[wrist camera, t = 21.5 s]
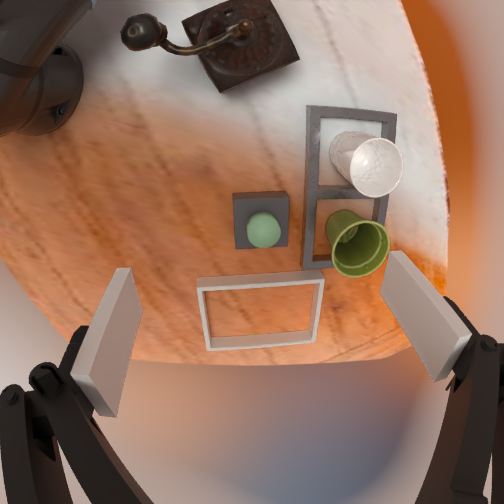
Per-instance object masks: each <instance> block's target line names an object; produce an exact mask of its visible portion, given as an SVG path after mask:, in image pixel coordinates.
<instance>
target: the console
mask: <svg viewBox="0 0 504 504" xmlns="http://www.w3.org/2000/svg"><path fill="white" fill-rule="evenodd" d="M233 211H234V232H235V247H236V249H251V248H259V247H256V246H254V245H253V244H252V243H251V242H250V241H249V239H248V234H247V228H246V225H247V221H248V219H249V218H250V217H251V216H252V215H253V214H255V213H257V212H262V211H264V212H269V213H271V214H272V215H274V216H275V218H276V219H277V222H278V224H279V227H280V230H281V235H280V238H279V240H278V241H277V242H276V243H275V244H274V245H273V246H271V247H285V246H288V220H289V196H288V195H287V193H286V191H268V192H245V193H233Z"/></svg>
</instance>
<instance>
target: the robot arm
mask: <svg viewBox="0 0 504 504" xmlns="http://www.w3.org/2000/svg"><path fill="white" fill-rule="evenodd" d="M97 1H98V0H0V137H2V136H5V135H7V134H10V133H13V132H15V133H19V134H23V135H27V136H38V135H43V134H46V133H49V132H51V131H54V130H55V129H57V128H59V127H60V126H61V125H62V124H64V123H65V122H66V121H67V119H68V118H69V117H70V116H71V114H72V113H73V111H74V110H75V108H76V106H77V104H78V101H79V98H80V95H81V91H82V85H83V72H82V67H81V63H80V61H79V59H78V57H77V55H76V54H75V53H74V51H73V50H71V49H70V48H69V47H67V46H65V45H62V44H60V42H61V41H62V40H63V39H64V37H65V36H66V35H67V34H68V33H69V31H70V30H71V29H72V28H73V27H74V26H75V24H76V23H77V22H78V21H79V20H80V19H81V18H82V17H83V16H84V15H85V13H86V12H87V11H88V10H92V9H93V8H94V6H95V4H96V2H97ZM380 295H381V296H382V298H383V299H384V301H385V302H386V304H387V305H388V307H389V309H390V310H391V312H392V313H393V315H394V316H395V318H396V320H397V321H398V323H399V324H400V326H401V328H402V329H403V331H404V332H405V334H406V336H407V337H408V339H409V341H410V342H411V344H412V346H413V347H414V349H415V351H416V352H417V354H418V356H419V357H420V359H421V361H422V363H423V364H424V366H425V368H426V370H427V371H428V373H429V375H430V377H431V378H432V380H433V382H436V381H439V380H442V379H445V378H447V376H448V375H449V373H450V371H451V370H453V371H454V373H455V375H454V377H453V378H452V380H451V381H450V383H449V384H448V386H447V387H446V390H448V389H449V387H450V386H451V388H450V394H449V398H448V403H447V407H446V412H445V415H444V419H443V423H442V427H441V431H440V435H439V438H438V442H437V445H436V448H435V451H434V454H433V457H432V460H431V463H430V466H429V469H428V472H427V474H426V477H425V480H424V482H423V485H422V488H421V490H420V492H419V495H418V497H417V500H416V502H415V504H488V499H487V498H486V497H484V496H483V489H484V485H485V481H486V477H487V473H488V468H489V464H490V458H491V453H492V493H491V494H492V495H491V504H504V343H503V344H502V343H497V341H496V340H495V339H494V338H492V337H490V336H488V335H484V334H483V335H480V334H479V333H478V331H477V330H476V329H475V328H474V326H473V325H472V324H471V322H470V321H469V320H468V319H467V317H466V316H464V314H463V312H462V311H461V310H459V308H458V306H457V305H456V304H455V303H454V302H453V301H452V300H450V299H449V298H447V297H446V296H444V297H442V295H441V294H440V293H439V292H438V291H437V290H436V288H435V287H434V286H433V285H432V284H431V283H430V281H429V280H428V279H427V278H426V277H425V276H424V275H423V273H422V272H421V271H420V270H419V269H418V268H417V267H416V266H415V265H414V263H413V262H412V261H411V260H410V259H409V258H408V257H407V256H406V255H405V254H404V253H403V252H402V250H401V251H390V252H389V257H388V261H387V266H386V270H385V274H384V278H383V282H382V286H381V290H380ZM142 313H143V309H142V306H141V302H140V299H139V295H138V292H137V288H136V285H135V281H134V277H133V273H132V269H131V267H129V268H117V269H116V271H115V273H114V275H113V277H112V279H111V281H110V283H109V285H108V287H107V289H106V291H105V293H104V295H103V298H102V300H101V302H100V304H99V306H98V308H97V310H96V313H95V315H94V317H93V319H92V322H91V324H90V326H80V327H79V328H78V329H77V330H76V331H75V332H74V334H73V336H72V338H71V340H70V342H69V343H70V344H69V345H68V347H67V349H66V352H65V354H64V356H63V358H62V361H61V363H60V365H59V368H57V367H56V365H55V364H53V363H51V362H44V363H41V364H39V365H37V366H36V367H35V368H34V369H33V370H32V371H31V373H30V375H29V384H30V385H31V386H32V388H33V389H34V390H33V391H27V392H25V391H24V390H23V389H22V388H21V386H19V385H17V384H12V385H9V386H7V387H6V388H5V389H4V390H3V391H2V393H1V395H0V449H1V461H2V470H3V477H4V484H5V490H6V496H7V502H8V504H73V501H72V498H71V495H70V492H69V488H68V485H67V481H66V477H65V473H64V469H63V466H62V461H61V457H60V452H59V447H58V443H59V445H60V447H61V449H62V451H63V453H64V455H65V457H66V459H67V461H68V463H69V465H70V467H71V469H72V471H73V473H74V474H75V476H76V478H77V480H78V482H79V483H80V485H81V487H82V488H83V490H84V492H85V493H86V495H87V497H88V498H89V500H90V502H91V503H92V504H154V503H153V502H152V501H151V500H150V498H149V497H148V496H147V495H146V493H145V492H144V491H143V490H142V488H141V487H140V486H139V485H138V484H137V482H136V481H135V479H134V478H133V477H132V475H131V474H130V473H129V471H128V470H127V469H126V467H125V466H124V464H123V463H122V462H121V460H120V459H119V457H118V456H117V455H116V453H115V451H114V450H113V448H112V447H111V445H110V444H109V442H108V441H107V439H106V438H105V436H104V434H103V433H102V431H101V430H100V428H99V426H98V424H97V423H96V421H95V419H94V418H93V417H92V414H93V411H94V409H95V410H96V412H97V413H98V414H99V415H100V416H107V417H117V413H118V408H119V403H120V398H121V394H122V390H123V385H124V381H125V376H126V373H127V368H128V364H129V361H130V357H131V353H132V349H133V345H134V341H135V338H136V334H137V330H138V327H139V323H140V320H141V316H142ZM57 440H58V442H57Z"/></svg>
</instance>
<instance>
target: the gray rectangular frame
mask: <svg viewBox="0 0 504 504" xmlns="http://www.w3.org/2000/svg"><path fill="white" fill-rule="evenodd" d="M324 282H325V278H324V276H323V274H322V272H321V270H320V269H317V270H304V271H290V272H276V273H261V274H245V275H229V276H212V277H198V278H197V287H196V288H197V294H198V301H199V307H200V313H201V319H202V325H203V331H204V337H205V342H206V348H207V351H217V350H235V349H250V348H263V347H274V346H285V345H294V344H303V343H312V342H315V341H316V335H317V329H318V322H319V316H320V310H321V303H322V296H323V289H324ZM302 284H314V291H313V300H312V308H311V315H310V323H309V330H301V331H291V332H280V333H269V334H257V335H243V336H227V337H211V335H210V329H209V322H208V315H207V309H206V302H205V294H204V291H214V290H231V289H247V288H262V287H276V286H289V285H302Z"/></svg>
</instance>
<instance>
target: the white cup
mask: <svg viewBox="0 0 504 504" xmlns="http://www.w3.org/2000/svg"><path fill="white" fill-rule="evenodd" d="M329 154H330V160H331V162H332V164H333V165H334V166H335V168H336V169H337V170H338V171H339V172H340V173H341V174H342V175H343V176H344V177H345V178H346V179H347V180H348V181H349V182H350V183H351V184H352V185H353V186H354V187H355V188H356V189H357V190H358V191H359V192H360V193H362V194H363V195H365V196H368V197H382V196H384V195H387V194H388V193H390V192H391V191H392V190H394V189H395V187H396V186H397V185H398V183H399V182H400V180H401V177H402V174H403V168H404V163H403V157H402V154H401V152H400V150H399V149H398V147H397V146H396V145H395V144H394V143H393V142H391V141H389V140H387V139H384V138H380V137H377V136H373V135H369V134H364V133H359V132H349V131H346V132H343V133H341V134H339V135H337V136H336V138H335V139H334V140H333V141H332V142H331V146H330V150H329Z"/></svg>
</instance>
